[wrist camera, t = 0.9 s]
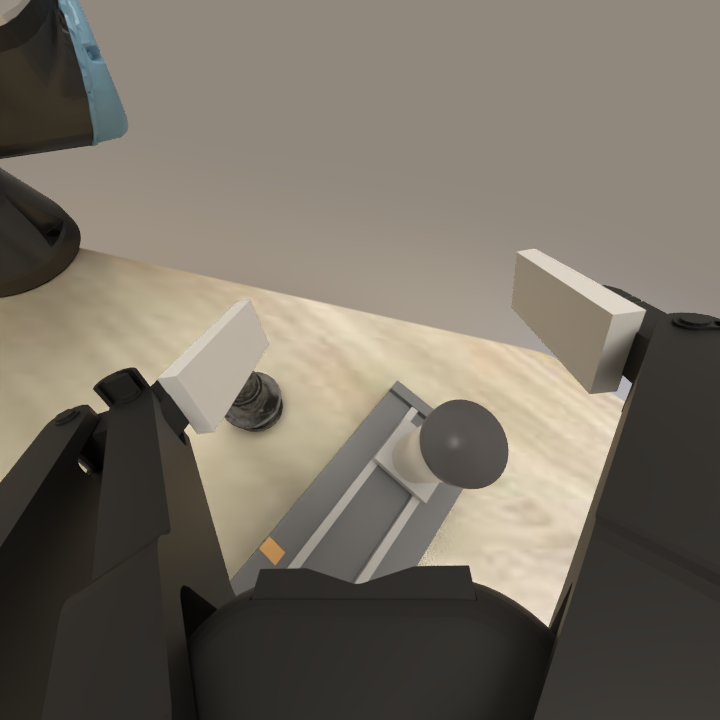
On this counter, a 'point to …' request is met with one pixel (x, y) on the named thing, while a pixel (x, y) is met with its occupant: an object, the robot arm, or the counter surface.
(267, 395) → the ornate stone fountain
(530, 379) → the counter surface
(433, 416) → the fader
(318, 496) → the console
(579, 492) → the counter surface
